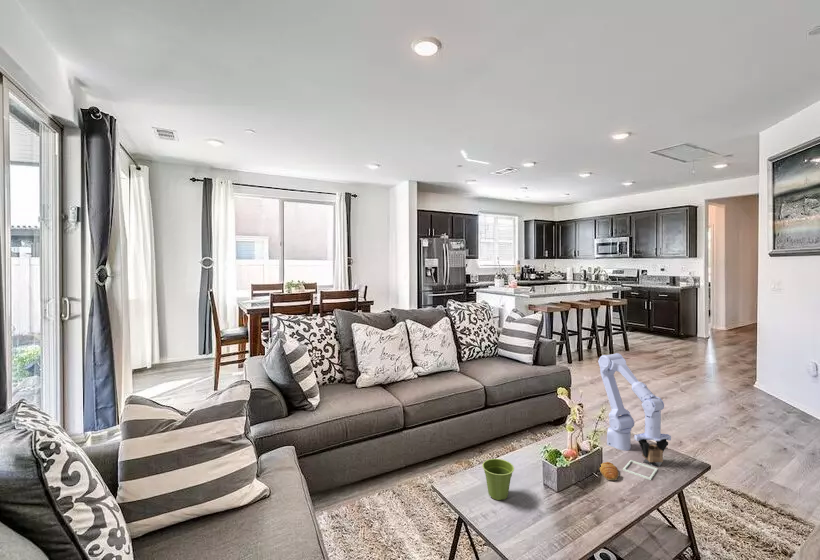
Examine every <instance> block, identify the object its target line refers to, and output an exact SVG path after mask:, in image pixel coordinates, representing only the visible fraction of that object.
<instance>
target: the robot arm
mask: <svg viewBox="0 0 820 560" xmlns="http://www.w3.org/2000/svg"><path fill="white" fill-rule="evenodd" d="M597 362H598V366H599V373H600V376H601V380H602V383H603V386H604V388H605V389H604V390H605V392H606V396H607V399H608V403H609V405H610V409H611V410H610V411H609V413H608V419H609V421H608V423H609V426H608V428H607V432H606V445H607V446H609V447H611V448H614V449H616V450H620V451H629V450H631V449H632V448H631V447H632V446H631V442H632V441H631V435H632V434H631V432H632V429H633V428H634V427H635V420H634V418H633V417H632V415H631V412H630V410H628V409H626V408H625V405H624V404H623V400H622V397H621V394H620V391H619V387H618V385H617V381H616V378H615V373H616V372H618V373H620V374H621V376H622V377H624V379H625V380H626V381H627V382H628V383H629V384H630V385H631V390H632V392H633V393H634V394H635V395H636V396H637V398H638V399H639V401H641V407H642V409H643V411H644V412H643V413H644V432H643V433H637V434H633V435H634V440H635V441H637V442H638V443H639V446H640V448H641V452H642V451H643V455H644V456H645V457H648V448H649V445H651V444H650V443H648V441H655V443H656V444H655V445H656V446H657V447H659V448H660V449H661V450H663V453H664V451H665V449H666V448H667V447H668V445H669V442H668V441H672V435H670V434H668V433H661V431H662V429H661V428H662V427H661V426H662V424H661V423H662V422H661V421H662V419H661V418H662V417H661V416H662V414H661V412H662V411H663V409H664V408H665V403H664V401H663V400H662V398H661V397H660V396H657V395H655V394H653V392H652V391H651V390H650V389H649V387H648V385H647V384H646V383H644V382H643V381H640V380H638V378H637V377H636V375H635V374H634V373H633V371H632V370H631V369H630V368H629V366H628V365H627V361H626V358H624V356H623V355H622V354H620V353H619V352H615V353H613V354H612V353H611V354H603V355H601V356H599V358H598V361H597Z"/></svg>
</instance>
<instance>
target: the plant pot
mask: <svg viewBox="0 0 820 560" xmlns="http://www.w3.org/2000/svg"><path fill="white" fill-rule="evenodd" d="M481 465H482V466H481V467H482V469H483V470H484V476H485V480H486V485H487V486H486V487H487V492H488V495H489V497H490V496H491V497H492V498H491V497H490V498H491V499H493V500H497V501H501V500H506V499H508V496H509V490H510V484H511V478H512V476H513V473H514V471H515V467H514V465H513V464H512V463H511V462H509V461H507V460H505V459H502V458H490V459H485V460H484V461H483V463H482V464H481Z"/></svg>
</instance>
